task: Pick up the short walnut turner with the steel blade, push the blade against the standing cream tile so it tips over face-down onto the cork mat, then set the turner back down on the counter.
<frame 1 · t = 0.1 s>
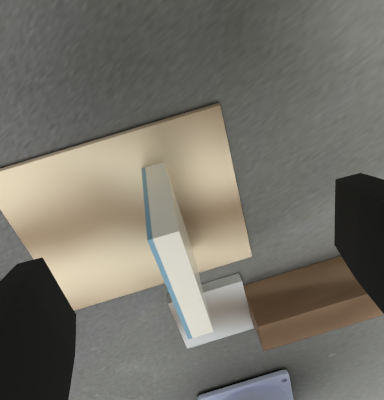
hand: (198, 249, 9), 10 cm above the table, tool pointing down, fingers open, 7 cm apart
cork mat: (134, 218, 20), on the table
turner: (299, 280, 25), on the table
tile: (169, 212, 19), resting on cork mat
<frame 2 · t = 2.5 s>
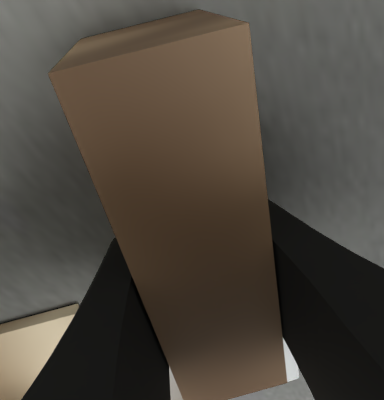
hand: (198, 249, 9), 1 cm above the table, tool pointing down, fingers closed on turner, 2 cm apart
turner: (182, 188, 9), on the table, touching gripper
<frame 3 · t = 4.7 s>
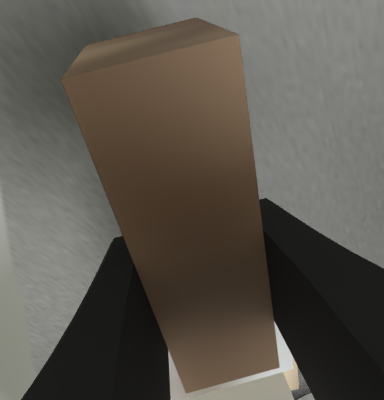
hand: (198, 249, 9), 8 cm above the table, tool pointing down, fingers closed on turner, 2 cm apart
turner: (181, 184, 10), point 6 cm above the table, touching gripper
tile: (221, 344, 23), resting on cork mat
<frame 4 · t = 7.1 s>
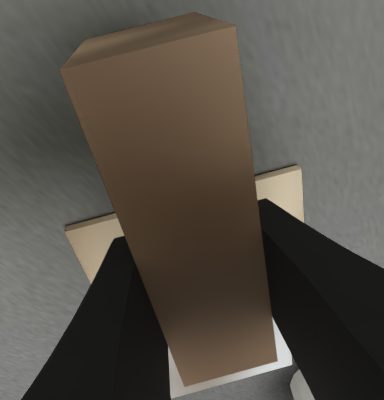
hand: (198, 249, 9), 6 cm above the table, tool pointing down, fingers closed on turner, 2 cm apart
shot glass: (328, 373, 24), on the table
cork mat: (208, 293, 18), on the table
turner: (179, 179, 10), point 4 cm above the table, touching gripper
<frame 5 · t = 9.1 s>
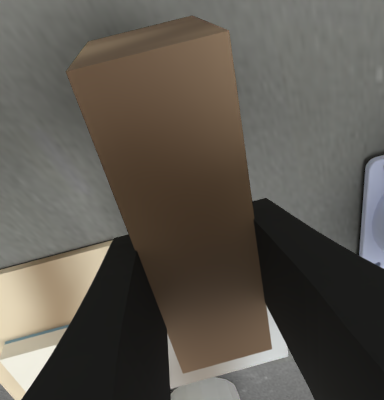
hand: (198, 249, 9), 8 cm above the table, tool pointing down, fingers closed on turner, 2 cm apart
shot glass: (201, 396, 27), on the table
cork mat: (66, 336, 21), on the table
turner: (178, 175, 10), point 6 cm above the table, touching gripper
tile: (54, 336, 20), point 1 cm above the table, tilted 90°, touching cork mat
when the fingers open (2 cm above the table, at t = 10.5 s): turner stays where it is, on the table.
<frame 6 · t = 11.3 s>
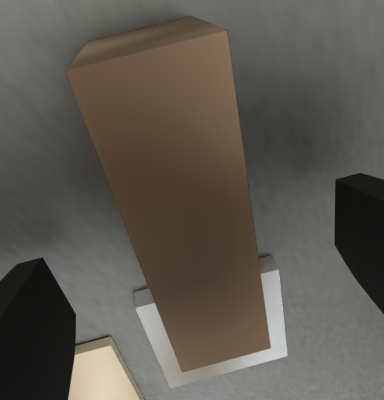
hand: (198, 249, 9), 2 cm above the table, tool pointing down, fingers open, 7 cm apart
turner: (177, 175, 10), on the table
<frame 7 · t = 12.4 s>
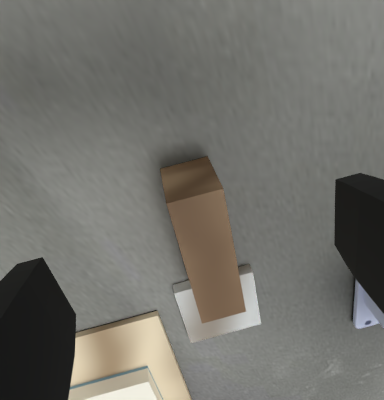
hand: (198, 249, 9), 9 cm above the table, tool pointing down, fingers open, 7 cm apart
cork mat: (112, 381, 26), on the table
turner: (198, 223, 20), on the table
tile: (106, 384, 24), point 1 cm above the table, tilted 90°, touching cork mat
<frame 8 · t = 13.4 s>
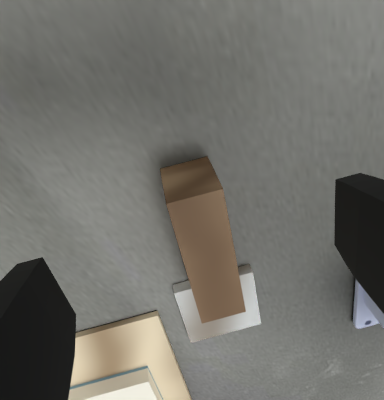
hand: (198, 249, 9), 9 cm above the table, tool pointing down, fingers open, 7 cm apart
cork mat: (112, 381, 26), on the table
turner: (198, 223, 20), on the table
tile: (106, 384, 24), point 1 cm above the table, tilted 90°, touching cork mat
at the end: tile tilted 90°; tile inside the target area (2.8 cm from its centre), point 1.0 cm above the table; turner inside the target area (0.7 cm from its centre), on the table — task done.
